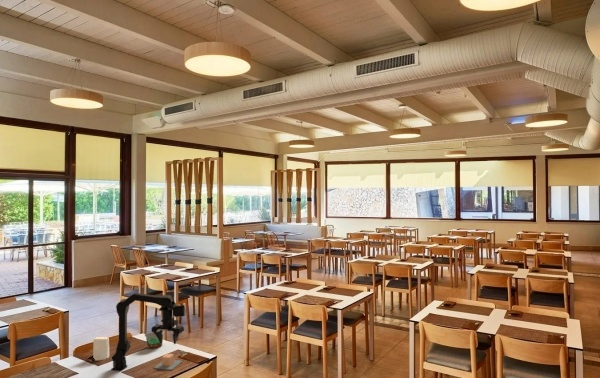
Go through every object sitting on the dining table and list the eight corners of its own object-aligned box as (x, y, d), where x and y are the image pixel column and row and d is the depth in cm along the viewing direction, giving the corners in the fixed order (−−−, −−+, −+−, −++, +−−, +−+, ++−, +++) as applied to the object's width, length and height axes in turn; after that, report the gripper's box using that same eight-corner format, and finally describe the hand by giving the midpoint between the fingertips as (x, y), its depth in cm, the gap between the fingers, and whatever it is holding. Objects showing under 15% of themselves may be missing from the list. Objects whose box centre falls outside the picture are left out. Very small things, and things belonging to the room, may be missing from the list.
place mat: (153, 368, 237) (153, 367, 237) (165, 360, 248) (165, 359, 248) (171, 370, 234) (171, 369, 234) (182, 361, 245) (182, 360, 245)
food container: (145, 350, 263) (144, 335, 263) (145, 347, 269) (144, 332, 269) (165, 347, 268) (164, 332, 268) (164, 344, 273) (164, 329, 273)
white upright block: (112, 354, 258) (111, 335, 258) (104, 360, 249) (103, 341, 249) (98, 354, 259) (98, 335, 259) (90, 360, 250) (89, 340, 250)
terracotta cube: (162, 365, 239) (161, 357, 239) (166, 361, 244) (166, 353, 244) (169, 366, 238) (169, 357, 238) (174, 362, 243) (174, 354, 243)
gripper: (188, 314, 246) (189, 339, 246) (161, 312, 251) (162, 337, 251) (178, 319, 236) (179, 346, 236) (150, 317, 240) (151, 344, 240)
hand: (168, 343), depth 241 cm, fingers open, 9 cm apart
